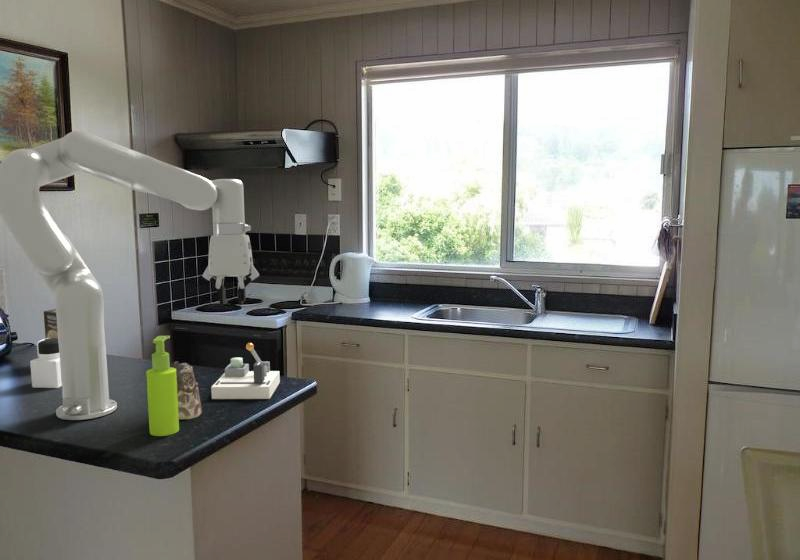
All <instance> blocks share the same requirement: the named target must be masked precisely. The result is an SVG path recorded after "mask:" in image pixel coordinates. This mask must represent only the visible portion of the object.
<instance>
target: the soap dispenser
mask: <svg viewBox="0 0 800 560" xmlns="http://www.w3.org/2000/svg"><path fill="white" fill-rule="evenodd" d="M170 338H171V335H158V336H155V338H153V340H152V344H155V351H154V353H152V354H151V362H152V363H151V364H152V365H151V366H152V368H150V369H148V370H146V372H145V374H146V375H145V376H146V393H147V411H148V424H149V426H148V428H149V434H150V436H154V437H166V436H171V435H174V434H176V433H178V432H179V431H180V421H179V415H178V395H177V375H176V369H175V367H171V365H170V362H171V361H170V353H169V352H167V351H165V341H166V340H167V339H170Z"/></svg>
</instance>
